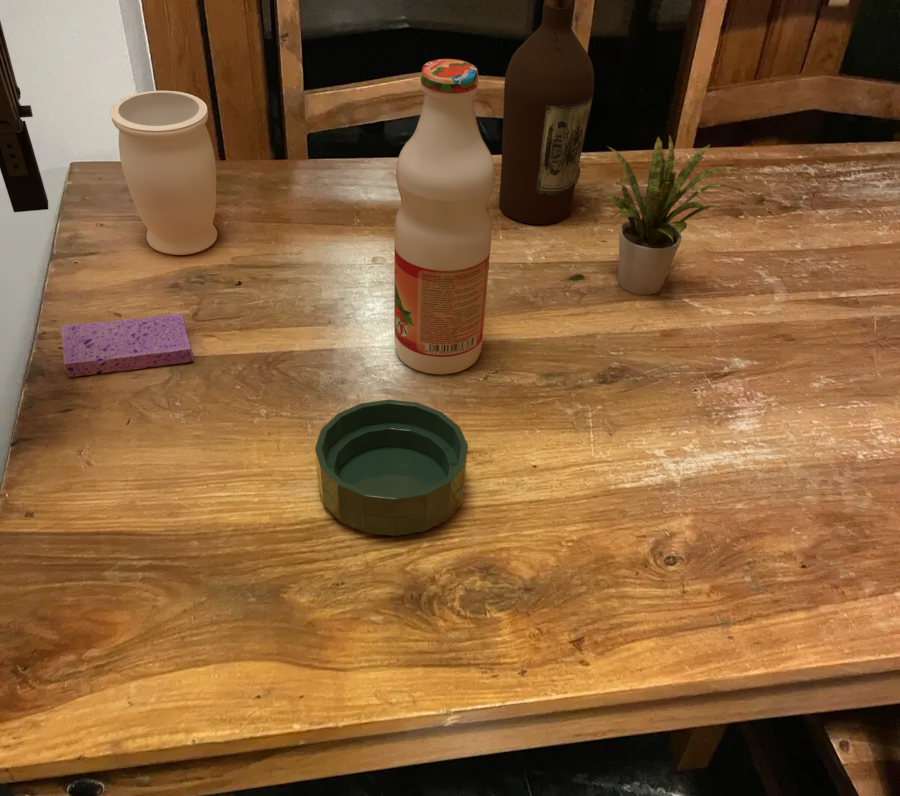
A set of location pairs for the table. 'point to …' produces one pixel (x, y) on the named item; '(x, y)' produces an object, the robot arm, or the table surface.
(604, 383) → the table surface
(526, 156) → the olive oil
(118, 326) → the sponge
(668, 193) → the house plant
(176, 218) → the jar
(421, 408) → the dish
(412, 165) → the fruit juice
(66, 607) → the table surface
